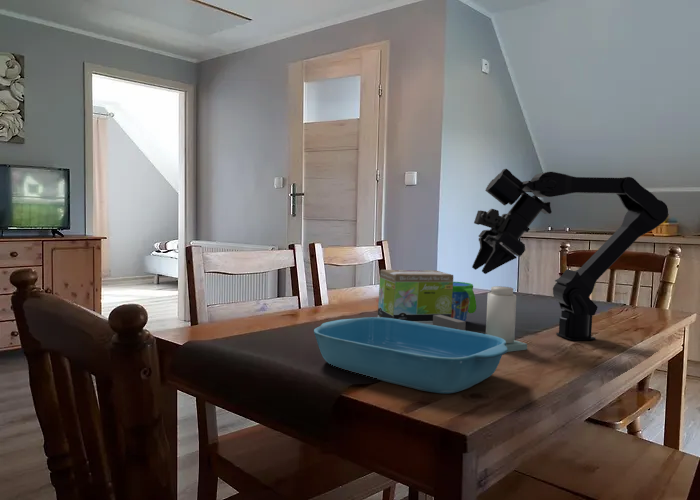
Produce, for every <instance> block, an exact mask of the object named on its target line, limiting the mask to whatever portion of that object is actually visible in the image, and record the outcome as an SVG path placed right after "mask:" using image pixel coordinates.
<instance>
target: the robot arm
mask: <svg viewBox="0 0 700 500" xmlns="http://www.w3.org/2000/svg"><path fill="white" fill-rule="evenodd" d="M485 192H487V193H488V194H489V195H490V196H492V197H493V198H494V199H495V200H497V202H499V203H500V204H502V205H503V206H506V205H510V206H511V205H512V207H511V208H510V210H508V212H507V213H503V214H501V215H500V213H499V210H497V209H494V208H490V209H489V210H488V211H486V210H477V213H476V215H475V218H474V222H473V224H475V225H481V226H483V227H484V226H485V227H487V228H490V229H483V230H482V231H481V232H480V234H479V235H478V242H479V249H478V252H477V254H476V257H475V259H474V261H473V264H472V265H471V268H472V269H473V270H477V269H480V268H481V267H482V266H483V267H482V270H481V272H482V274H485V275H486V274H488V273H490V272H491V271H494V270H496V269H498V268H499V267H502V266H503V265H505V264H507V263H509V262H511V261H513V260H515V259H517V257H518V258H519V257H521V256H522V255H523V254H524V253H525V252H526V247H525V246H526V244H525V243H523V242H522V240H520V239H521V238H522V236H523V235H524V233H529V231H530V230H531V228H530V226H531V225H532V223H534V222H533V221H534V220H535V219H536V218H537V217H538V216H539V215H540V213H543V214H545V215H549V214H552V207H551V202H550V201H545V202H544V201H543V200H542V199H541V198H552V197H558V196H559V197H560V196H565V195H571V194H611V195H613V194H615V195H617V196H618V197H619V200H620V201H621V203H622V205H623V207H624V208H625V209H626V210H627V212H626V214H625V215H624V218H623V220H622V223H621V225H620V227H619V228H618V229H617V230H615V232H614V233H613V234H612V235H611V236H610V237H609V238H608V239H607V240H606V241H605V242H604V243H603V244H602V245H601V246H600V247H599V248H598V249H597V250H596V251H595V252H594V253H593V254H592V255H591V256H590V258H588V260H587V261H586V262H584V263H583V264H582V265H581V266H580V267H579V268H578V269H577V270H573V269H568V268H567V269H566V270H565V271H563V273H562V275H561V276H560V277H559V278H557V279H555V280H554V282H555V284H554V285H553V287H552V295H553V297H554V299H555V301H556V302H558V305H559V308H560V309H562V310H561V312H560V314H561V315H560V317H559V323H558V324H559V325H558V332H555V335H557V336H559V337H562V338H564V339H567V340H570V341H594V340H595V341H596V337H594V336H592V331H593V329H592V328H593V316H595V315H596V312H597V310H598V308H599V307H598V306H597V305H596V302H594V301H593V300H592V299H591V298H590V297H591V295H592V294H593V292H594V289H595V286H596V282H597V281H598V280H599V278H601V277H602V276H603V274H604V273H606V272H607V271H608V269H609V268H611V266H613V265H614V264H615V263H616V261H617V260H619V258H620V257H621V256H622V255H623V254H624V253H625V252H626V251H627V250H628V249H629V248H630V247H631V246H632V245H633V244H634V243H635V242H636V241H637V239H639V238H640V237H642V236H643V235H645V234H648V233H649V232H650V233H651V231H653V230H655V229H657V228H658V227H659V226H660V225H661V224H663V223H664V222H665V221H666V220H667V219H668V217H669V208H668V205H667V204H666V202H664V201H663V200H661V199H658V198H657V197H656V195H655V194H654V193H652V192H651V191H649V190H648V189H646V188H645V187H643V186H642V185H641V184H640V183H639V182H638V181H637V180H636V179H635V178H634V177H633V176H631V177H630V176H626V177H624V176H623V177H595V176H594V177H591V176H589V177H585V176H583V177H581V176H573V175H569V174H566V173H560V172H557V171H556V172H555V171H547V172H542V173H537V174H535V175H534V176H533V177H531V180H525V181H524V180H523V181H521V180H520V179H519V178H518V177H516V175H514V174H513V173H512V172H511V171H510V170H509V169H507V168H504V169H502V170H501V171H500V172H499V173H498V174H497V175H496V176H495V177H494V178H493V179H491V180H490V182H489V183H488V184H487V186H486V188H485ZM528 193H532V194H533V195H530V194H528ZM514 203H515V204H514Z"/></svg>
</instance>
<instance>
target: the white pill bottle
mask: <svg viewBox="0 0 700 500" xmlns="http://www.w3.org/2000/svg"><path fill="white" fill-rule="evenodd" d="M486 299H487V300H486V301H487V302H486V320H485V321H486V323H485V324H486V325H485V334H488V335H492V336H496V337H499V338H502V339H504V340H505V341H506V343H513V342H514V340H515V333H516V329H515V328H516V315H517V313H516V312H517V311H516V310H517V309H516V308H517V294H515V293H514V288H513V287H509V286H501V285H500V286H498V285H497V286H496V285H495V286H491V288H490V292H487V298H486Z"/></svg>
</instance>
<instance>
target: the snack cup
mask: <svg viewBox="0 0 700 500" xmlns="http://www.w3.org/2000/svg"><path fill="white" fill-rule="evenodd" d="M473 289H474V285H473V283H470V282H463V281H453V294H452V312H451V318H454V319H458V320H462V321H465V322H466V320H467V315H468V314H474V313H475V312H476V310H477V301H476V300H477V299H476V296H475V293H474V292H475V291H474V290H473Z"/></svg>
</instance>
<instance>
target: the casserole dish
mask: <svg viewBox="0 0 700 500" xmlns="http://www.w3.org/2000/svg"><path fill="white" fill-rule="evenodd" d="M313 333H314V336H315V340H316V343H317V346H318V348H319V351H320V353H321V356H322V358H323V359H324V361H325V362H326V363H327V364H329V365H330V364H331V365H330V366H332V365H333V366H332V367H334V366H336V367H339V368H342V369H345V370H349V371H352V372H356V373H359V374H363V375H366V376H365V377H367V376H370V377H373V378H372V379H374V378H377V379H376V380H380V381H381V382H385V383H386V382H387V383H391V384H394V385H399V386H403V387H406V388H411V389H415V390H419V391H424V392H428V393H436V394H454V393H459V392H461V391H464V390H467V389H469V388H472V387H473V386H475V385H477V384H479V383H481V382H483V381H485V380H486V379H488V378H489V377H491V376H492V375H493V374H494V373H495V371H496V370H497V368H498V366H499V364H500V361H501V359H502V356H503V355H505V354H506V353H508V352H507V351H508V349H507V347H506V346H505V345H506V341H505V340H504V339H502V338H499V337H496V336H492V335H488V334H486V333H482V332H481V333H480V332H476V331H470V330H466V329H465V330H459V329H453V328H447V327H442V326H436V325H430V324H424V323H418V322H413V321H406V320H400V319H393V318H383V317H378V316H373V317H371V316H369V317H358V318H343V319H337V320H331V321H327V322H323V323H322V324H321V325H320V326H318V327H315V328H314V329H313ZM336 367H335V368H336ZM339 368H338V369H339ZM342 369H341V370H342ZM345 370H344V371H345ZM352 372H351V373H352ZM356 373H355V374H356ZM359 374H358V375H359ZM363 375H362V376H363ZM370 377H369V378H370Z"/></svg>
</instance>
